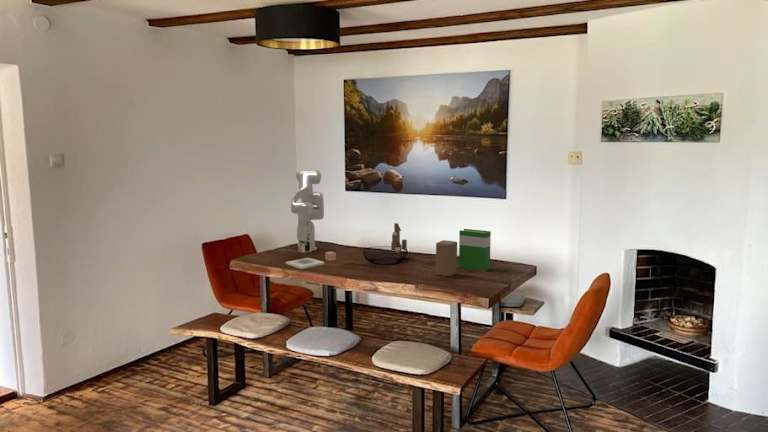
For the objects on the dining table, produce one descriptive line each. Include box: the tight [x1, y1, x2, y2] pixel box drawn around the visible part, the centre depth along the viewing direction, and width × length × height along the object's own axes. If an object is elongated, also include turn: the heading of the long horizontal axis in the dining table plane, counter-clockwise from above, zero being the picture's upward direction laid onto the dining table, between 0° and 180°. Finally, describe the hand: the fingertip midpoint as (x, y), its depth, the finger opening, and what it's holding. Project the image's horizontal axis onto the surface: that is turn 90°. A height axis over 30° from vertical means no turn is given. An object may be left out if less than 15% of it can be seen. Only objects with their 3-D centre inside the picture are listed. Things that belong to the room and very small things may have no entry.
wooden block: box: [435, 239, 458, 277], centre depth 336 cm, size 10×10×20 cm
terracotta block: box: [324, 251, 337, 262], centre depth 379 cm, size 5×5×5 cm
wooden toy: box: [390, 222, 408, 259], centre depth 375 cm, size 16×7×25 cm, turn 157°
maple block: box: [297, 241, 312, 254], centre depth 365 cm, size 6×6×6 cm
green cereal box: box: [458, 228, 492, 271], centre depth 351 cm, size 18×7×24 cm, turn 57°
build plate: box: [285, 257, 325, 270], centre depth 366 cm, size 18×18×2 cm
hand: (304, 250), depth 365 cm, fingers closed on maple block, 6 cm apart
